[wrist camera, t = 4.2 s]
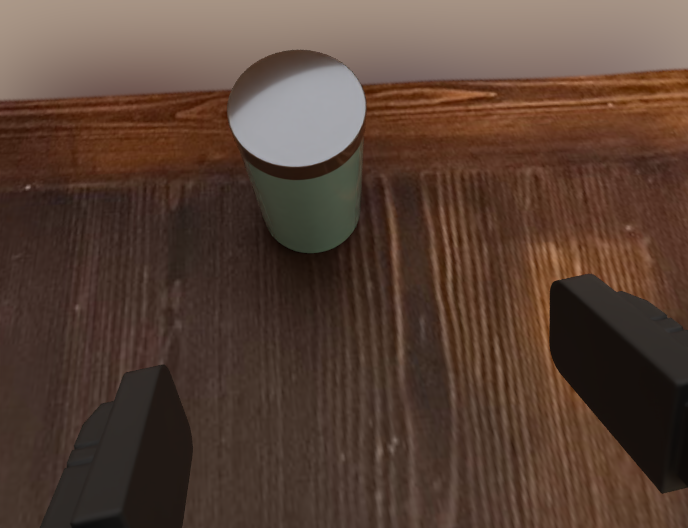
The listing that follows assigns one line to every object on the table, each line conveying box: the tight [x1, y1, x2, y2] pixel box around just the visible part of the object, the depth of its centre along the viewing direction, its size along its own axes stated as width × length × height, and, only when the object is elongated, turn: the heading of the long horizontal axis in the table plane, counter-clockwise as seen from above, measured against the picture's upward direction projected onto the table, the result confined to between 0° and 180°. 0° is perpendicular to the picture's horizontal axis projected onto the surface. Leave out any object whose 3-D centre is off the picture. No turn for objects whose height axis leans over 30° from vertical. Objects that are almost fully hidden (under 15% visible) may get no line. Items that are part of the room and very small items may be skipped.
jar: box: [227, 50, 367, 253], centre depth 25 cm, size 5×5×9 cm
